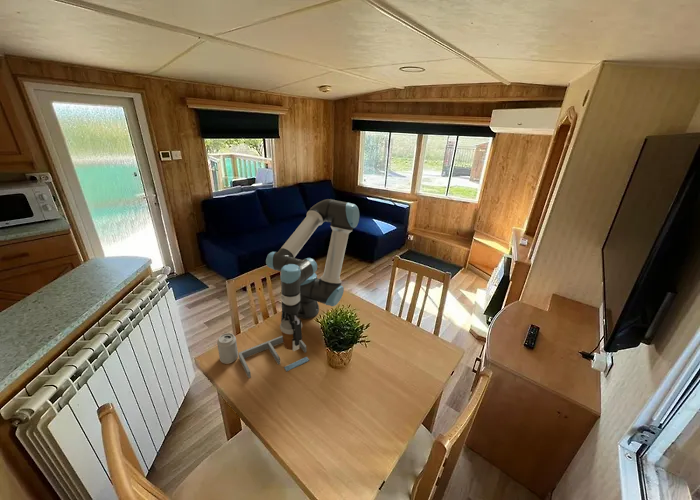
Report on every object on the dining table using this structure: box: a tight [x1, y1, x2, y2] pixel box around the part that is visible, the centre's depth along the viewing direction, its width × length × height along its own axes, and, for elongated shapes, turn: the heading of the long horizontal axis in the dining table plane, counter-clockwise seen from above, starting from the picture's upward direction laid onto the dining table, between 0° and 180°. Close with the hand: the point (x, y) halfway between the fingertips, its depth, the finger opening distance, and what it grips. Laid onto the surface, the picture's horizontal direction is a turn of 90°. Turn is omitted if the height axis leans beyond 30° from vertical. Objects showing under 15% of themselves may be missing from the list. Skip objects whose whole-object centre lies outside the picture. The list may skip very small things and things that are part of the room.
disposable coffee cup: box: [279, 317, 303, 351], centre depth 121 cm, size 10×10×12 cm
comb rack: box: [238, 335, 308, 379], centre depth 126 cm, size 27×12×4 cm, turn 127°
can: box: [216, 332, 239, 364], centre depth 121 cm, size 8×8×12 cm
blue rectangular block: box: [283, 356, 310, 372], centre depth 123 cm, size 11×2×1 cm, turn 127°
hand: (291, 343), depth 123 cm, fingers closed on disposable coffee cup, 8 cm apart
